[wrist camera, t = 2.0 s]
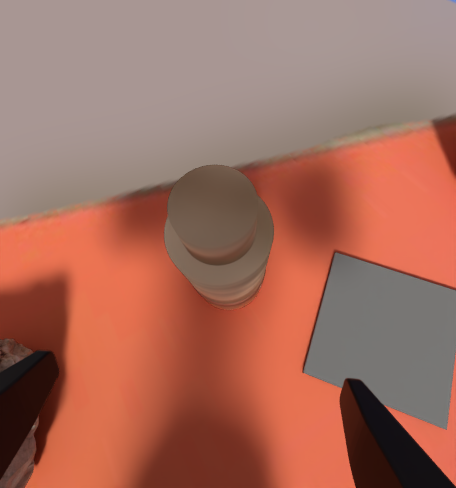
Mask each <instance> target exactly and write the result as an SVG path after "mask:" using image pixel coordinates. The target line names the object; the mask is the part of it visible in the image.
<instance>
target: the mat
mask: <svg viewBox="0 0 456 488" xmlns="http://www.w3.org/2000/svg"><path fill="white" fill-rule="evenodd" d="M455 353H456V290H453V289H449V288H446V287H443V286H440V285H437V284H434V283H431V282H427V281H424V280H421V279H418V278H415V277H412V276H409V275H405V274H402V273H399V272H396V271H393V270H390V269H387V268H383V267H380V266H377V265H374V264H371V263H368V262H365V261H362V260H358V259H355V258H352V257H349V256H346V255H343V254H340V253H336V252H335V253H334V257H333V261H332V265H331V268H330V272H329V276H328V280H327V283H326V287H325V291H324V294H323V298H322V302H321V306H320V309H319V313H318V317H317V321H316V324H315V328H314V332H313V336H312V339H311V343H310V347H309V351H308V354H307V358H306V362H305V365H304V369H303V373H305V374H308V375H310V376H313V377H315V378H318V379H320V380H323V381H325V382H328V383H330V384H333V385H335V386H338V387H340V388H342V387H343V383H344V380H345V379H346V378H355V379H360V380H362V381H363V382H364V384H365V385H366V386H367V387H368V388H369V389H370V390H371V391H372V393H373V394H374V395H375V396H376V397H377V398H378V399H379V400H380V402H381V403H382V404H383V405H386V406H388V407H391V408H393V409H396V410H398V411H401V412H403V413H406V414H408V415H411V416H413V417H416V418H418V419H421V420H423V421H426V422H428V423H431V424H433V425H436V426H438V427H441V428H443V429H446V430H447V423H448V415H449V406H450V397H451V388H452V379H453V370H454V362H455Z"/></svg>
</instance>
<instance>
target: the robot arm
mask: <svg viewBox="0 0 456 488" xmlns="http://www.w3.org/2000/svg"><path fill="white" fill-rule="evenodd" d="M58 375H59V366H58V363H57V360H56V357H55V354H54V352H52V351H50V350H38V351H36V352H34V353H32V354H30V355H29V356H27V357H25V358H24V359H22V360H20V361H18V362H17V363H15V364H13V365H12V366H10V367H8V368H6V369H5V370H3V371H1V372H0V480H1V479H2V477H3V475H4V474H5V472H6V470H7V469H8V467H9V465H10V464H11V462H12V460H13V459H14V457H15V456H16V454H17V452H18V451H19V449H20V447H21V446H22V444H23V442H24V441H25V439H26V437H27V436H28V434H29V432H30V431H31V429H32V427H33V425H34V423H35V422H36V420H37V418H38V416H39V414H40V412H41V410H42V408H43V406H44V404H45V402H46V400H47V398H48V396H49V394H50V392H51V390H52V388H53V386H54V384H55V382H56V380H57V378H58ZM340 408H341V414H342V421H343V427H344V433H345V439H346V445H347V451H348V457H349V463H350V467H351V471H352V475H353V479H354V483H355V487H356V488H456V486H455V485H454V484H453V483H452V482H451V481H450V480H449V478H448V477H447V476H446V475H445V474H444V473H443V472H442V470H441V469H440V468H439V467H438V466H437V465H436V464H435V463H434V461H433V460H432V459H431V458H430V457H429V456H428V455H427V454H426V452H425V451H424V450H423V449H422V448H421V447H420V446H419V444H418V443H417V442H416V441H415V440H414V439H413V438H412V437H411V435H410V434H409V433H408V432H407V431H406V430H405V429H404V428H403V426H402V425H401V424H400V423H399V422H398V421H397V420H396V419H395V417H394V416H393V415H392V414H391V413H390V412H389V411H388V409H387V408H386V407H385V406H384V405H383V404H382V403H381V402H380V400H379V399H378V398H377V397H376V396H375V395H374V394H373V393H372V391H371V390H370V389H369V388H368V387H367V386H366V385H365V384H364V382H363V381H362V380H360V379H355V378H346V379H345V380H344V383H343V387H342V391H341V394H340Z"/></svg>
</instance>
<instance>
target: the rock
mask: <svg viewBox="0 0 456 488" xmlns="http://www.w3.org/2000/svg"><path fill="white" fill-rule="evenodd" d="M32 353H34V352H33V351H32V350H31V349H28V348H26V347H24V346H23V344H18V343H17V342H16V341H15V340H14V339H4V340H1V339H0V372H1V371H3V370H5V369H6V368H8V367H10V366H12V365H13V364H15V363H17V362H18V361H20V360H22V359H24V358H25V357H27V356H29V355H30V354H32ZM38 423H39V417H38V418H37V420H36V422H35V423H34V425H33V427H32V429H31V431H30V432H29V434H28V436H27V437H26V439H25V441H24V442H23V444H22V446H21V447H20V449H19V451H18V452H17V454H16V456H15V457H14V459H13V460H12V462H11V464H10V465H9V467H8V469H7V470H6V472H5V474H4V475H3V477H2V479H1V480H0V488H25V486H26V484H27V482H28V481H29V479H30V477H31V475H32V473H33V469H34V455H35V452H36V441H35V438H34V432H35V430H36V428H37V427H38Z"/></svg>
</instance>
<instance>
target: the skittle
mask: <svg viewBox="0 0 456 488" xmlns="http://www.w3.org/2000/svg"><path fill="white" fill-rule="evenodd" d="M167 212H168V217H167V219H166V223H165V229H164V241H165V246H166V249H167V252H168V254H169V256H170V258H171V260H172V261H173V263H174V264H175V265H176V266H177V268H178V269H179V270H180V271H181V272H182V273H183V275H184V276H185V277H186V278H187V279H188V280H189V281H190V283H191V284H192V285H193V286H194V288H195V289H196V291H197V292H198V293H199V294H200V295H201V296H202V297H203V298H204V299H205V300H206V301H207V302H208V303H210V304H211V305H213V306H214V307H216V308H219V309H223V310H236V309H240V308H242V307H244V306H246V305H248V304H249V303H251V302H252V301H253V300H254V299H255V297H256V296H257V294H258V293H259V290H260V288H261V285H262V283H263V280H264V276H265V271H266V265H267V261H268V258H269V254H270V250H271V246H272V242H273V236H274V225H273V220H272V216H271V213H270V211H269V209H268V207H267V206H266V204H265V203H264V202H263V200H262V199H261V198H260V197H259V196H258V195H257V193H256V190H255V188H254V186H253V184H252V183H251V181H250V180H249V179H248V178H247V177H246V176H245V175H244V174H243V173H241V172H240V171H238V170H236V169H234V168H231V167H228V166H223V165H207V166H202V167H199V168H196V169H194V170H192V171H190V172H188V173H187V174H185V175H184V176H183V177H181V178H180V179H179V180H178V181H177V183H176V184H175V185H174V187H173V188H172V190H171V192H170V195H169V198H168V203H167Z"/></svg>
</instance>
